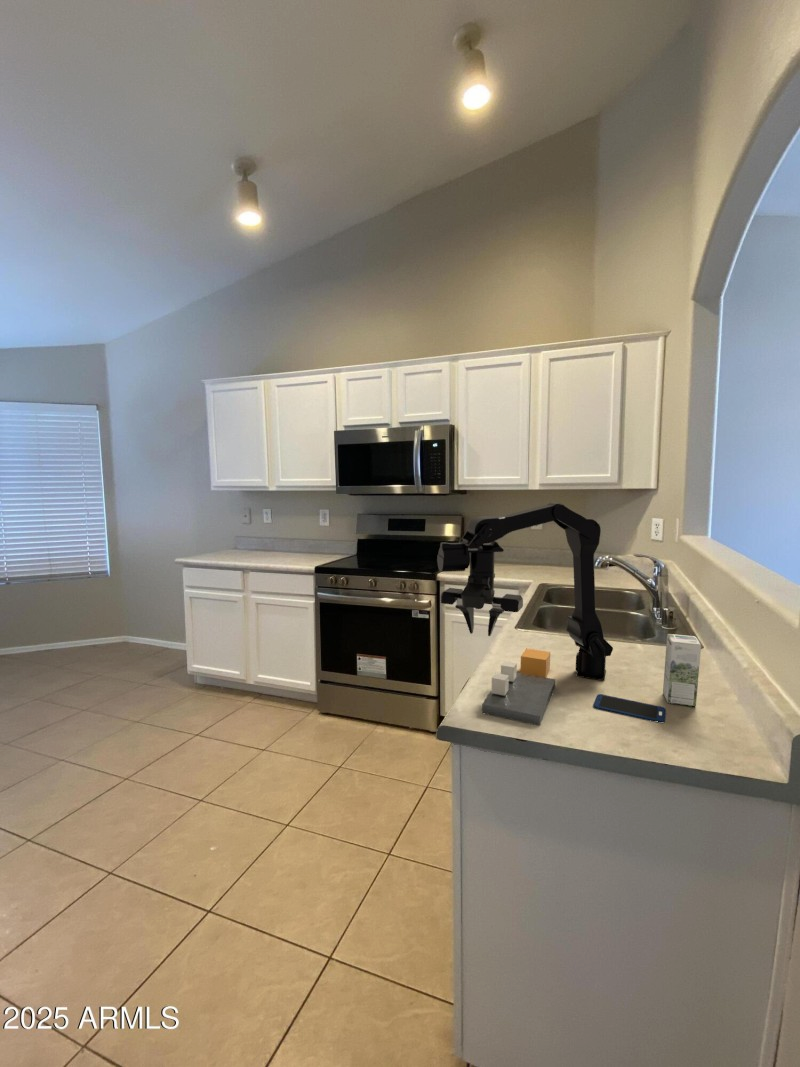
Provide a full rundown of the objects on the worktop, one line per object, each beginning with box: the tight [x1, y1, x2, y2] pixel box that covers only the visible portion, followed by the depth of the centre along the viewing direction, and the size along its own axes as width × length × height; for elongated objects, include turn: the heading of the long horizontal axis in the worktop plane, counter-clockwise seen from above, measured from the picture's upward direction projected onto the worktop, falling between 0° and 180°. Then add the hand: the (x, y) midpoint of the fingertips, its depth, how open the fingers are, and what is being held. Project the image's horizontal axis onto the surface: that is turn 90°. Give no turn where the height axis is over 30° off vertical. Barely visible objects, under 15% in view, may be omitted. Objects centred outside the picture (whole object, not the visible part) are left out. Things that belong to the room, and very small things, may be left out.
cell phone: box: [592, 693, 667, 723], centre depth 108 cm, size 7×14×1 cm, turn 60°
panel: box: [481, 672, 556, 726], centre depth 112 cm, size 12×20×2 cm, turn 154°
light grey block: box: [500, 660, 518, 682], centre depth 117 cm, size 3×3×4 cm
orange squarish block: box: [519, 648, 551, 678], centre depth 127 cm, size 6×6×5 cm
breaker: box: [490, 672, 509, 696], centre depth 110 cm, size 3×3×4 cm
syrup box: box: [662, 633, 702, 707], centre depth 111 cm, size 6×6×14 cm
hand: (480, 634), depth 120 cm, fingers open, 4 cm apart
